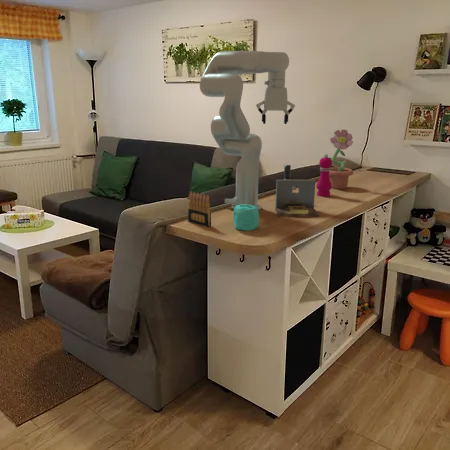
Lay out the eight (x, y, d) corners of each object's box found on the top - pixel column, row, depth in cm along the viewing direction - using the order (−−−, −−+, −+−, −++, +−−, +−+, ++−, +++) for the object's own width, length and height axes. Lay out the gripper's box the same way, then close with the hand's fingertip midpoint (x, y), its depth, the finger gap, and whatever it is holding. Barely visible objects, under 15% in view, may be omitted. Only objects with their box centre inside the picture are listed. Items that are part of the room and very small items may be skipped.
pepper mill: (320, 197, 217) (322, 155, 212) (313, 194, 224) (315, 153, 218) (333, 196, 219) (336, 154, 213) (326, 193, 226) (329, 152, 220)
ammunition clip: (211, 226, 169) (211, 194, 166) (207, 227, 168) (207, 195, 165) (191, 220, 176) (191, 190, 173) (188, 221, 175) (187, 191, 172)
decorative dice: (254, 224, 172) (254, 203, 170) (258, 230, 164) (259, 209, 162) (233, 225, 171) (233, 204, 169) (237, 231, 163) (237, 209, 161)
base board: (279, 216, 183) (279, 213, 182) (275, 209, 193) (275, 207, 193) (318, 216, 184) (318, 213, 183) (312, 209, 194) (312, 206, 194)
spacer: (287, 209, 189) (290, 213, 182) (287, 205, 189) (291, 210, 182) (304, 209, 190) (308, 213, 183) (304, 205, 189) (308, 210, 182)
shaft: (290, 189, 194) (291, 171, 192) (283, 182, 211) (284, 164, 209) (296, 189, 194) (297, 171, 192) (289, 182, 211) (290, 164, 209)
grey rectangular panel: (276, 208, 191) (277, 180, 188) (275, 207, 193) (276, 179, 190) (313, 208, 192) (315, 180, 189) (312, 206, 194) (314, 179, 190)
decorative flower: (322, 189, 235) (326, 130, 226) (323, 184, 247) (327, 128, 239) (352, 191, 231) (357, 131, 223) (351, 185, 244) (356, 129, 236)
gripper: (257, 83, 197) (256, 124, 202) (297, 84, 198) (295, 124, 203) (255, 84, 204) (254, 123, 209) (294, 84, 205) (292, 123, 210)
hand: (274, 123), depth 206 cm, fingers open, 9 cm apart
